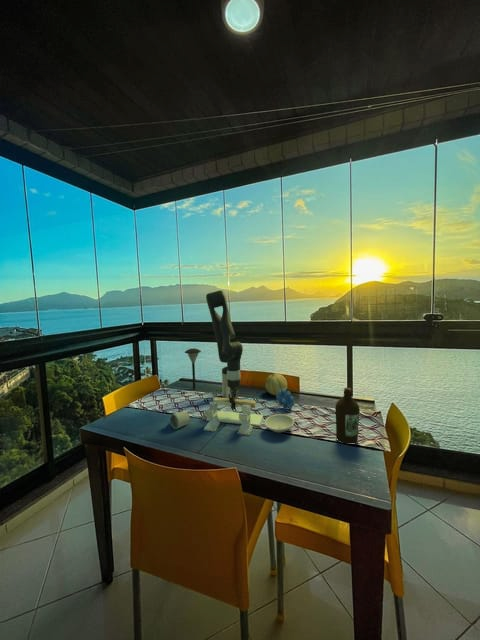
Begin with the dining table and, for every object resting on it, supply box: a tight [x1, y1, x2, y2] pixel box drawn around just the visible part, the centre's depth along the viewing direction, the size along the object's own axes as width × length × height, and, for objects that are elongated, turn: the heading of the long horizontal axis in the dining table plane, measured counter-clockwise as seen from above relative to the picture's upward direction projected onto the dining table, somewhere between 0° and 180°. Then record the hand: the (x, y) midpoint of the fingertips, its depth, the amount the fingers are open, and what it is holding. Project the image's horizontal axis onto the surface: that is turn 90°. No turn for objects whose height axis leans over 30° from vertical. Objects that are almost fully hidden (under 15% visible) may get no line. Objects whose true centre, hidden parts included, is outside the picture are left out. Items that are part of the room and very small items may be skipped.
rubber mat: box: [205, 410, 264, 426], centre depth 158 cm, size 12×30×1 cm, turn 75°
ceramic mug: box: [169, 410, 191, 430], centre depth 151 cm, size 11×8×8 cm
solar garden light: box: [184, 347, 202, 391], centre depth 205 cm, size 12×12×30 cm
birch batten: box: [212, 397, 257, 409], centre depth 157 cm, size 3×24×3 cm, turn 75°
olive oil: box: [334, 387, 361, 444], centre depth 132 cm, size 11×11×25 cm
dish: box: [263, 413, 295, 433], centre depth 143 cm, size 18×14×5 cm
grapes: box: [275, 389, 295, 410], centre depth 169 cm, size 12×7×12 cm, turn 60°
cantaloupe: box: [265, 372, 288, 396], centre depth 193 cm, size 15×15×15 cm
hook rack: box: [203, 401, 254, 436], centre depth 146 cm, size 8×24×12 cm, turn 75°
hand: (234, 407), depth 158 cm, fingers closed on birch batten, 3 cm apart
